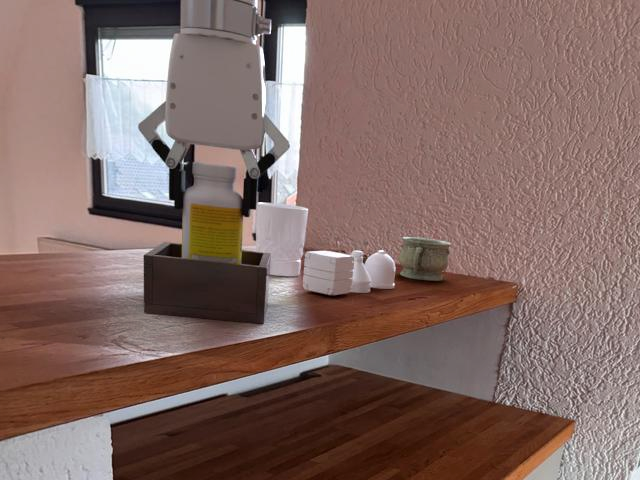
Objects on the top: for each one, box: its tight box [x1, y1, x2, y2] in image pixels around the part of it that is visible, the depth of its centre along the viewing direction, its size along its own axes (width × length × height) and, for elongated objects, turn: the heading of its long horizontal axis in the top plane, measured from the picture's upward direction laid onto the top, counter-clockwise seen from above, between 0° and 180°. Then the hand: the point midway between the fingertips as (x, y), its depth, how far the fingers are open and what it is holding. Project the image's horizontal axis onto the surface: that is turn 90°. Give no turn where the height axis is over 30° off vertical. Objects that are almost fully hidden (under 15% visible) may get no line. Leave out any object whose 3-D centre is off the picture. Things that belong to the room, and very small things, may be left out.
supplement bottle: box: [181, 161, 244, 264], centre depth 81 cm, size 7×7×13 cm
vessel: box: [398, 236, 452, 282], centre depth 128 cm, size 12×9×6 cm
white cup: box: [255, 201, 309, 277], centre depth 113 cm, size 8×8×10 cm
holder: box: [143, 241, 271, 325], centre depth 84 cm, size 13×13×6 cm
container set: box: [302, 249, 396, 296], centre depth 107 cm, size 20×5×6 cm, turn 150°
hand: (213, 211), depth 81 cm, fingers closed on supplement bottle, 6 cm apart
